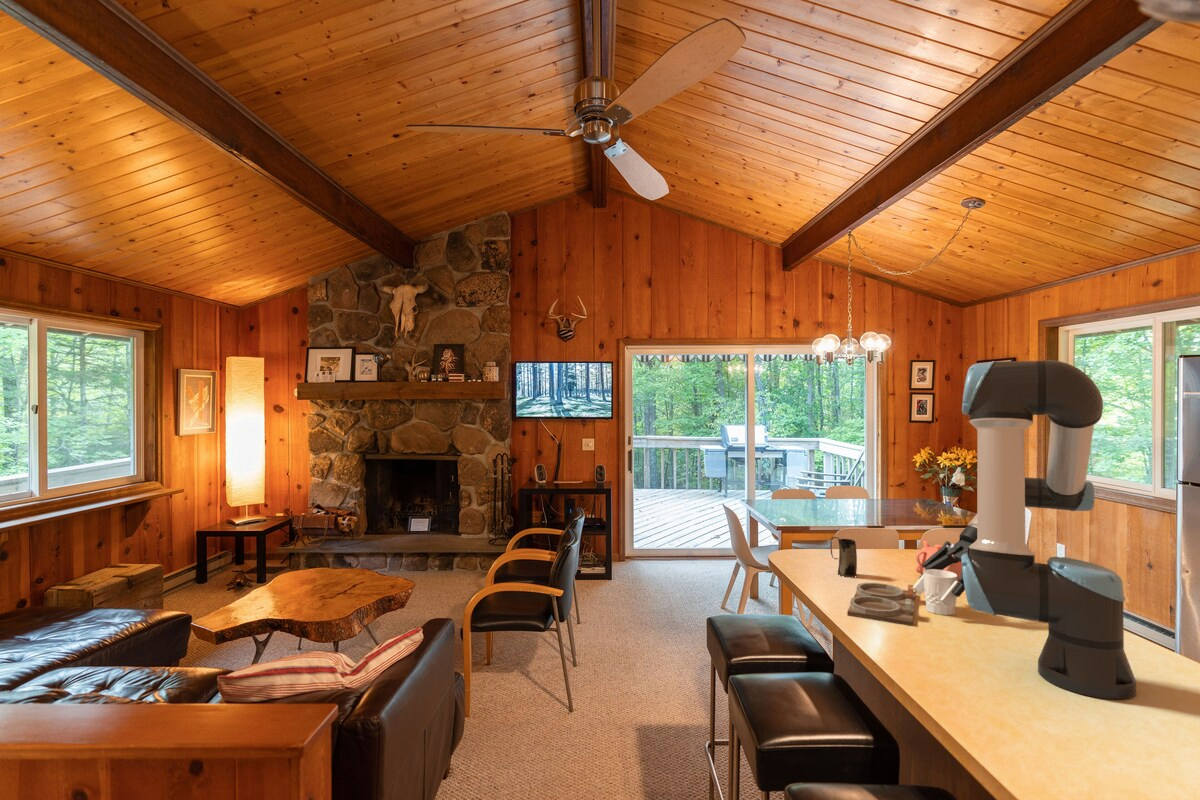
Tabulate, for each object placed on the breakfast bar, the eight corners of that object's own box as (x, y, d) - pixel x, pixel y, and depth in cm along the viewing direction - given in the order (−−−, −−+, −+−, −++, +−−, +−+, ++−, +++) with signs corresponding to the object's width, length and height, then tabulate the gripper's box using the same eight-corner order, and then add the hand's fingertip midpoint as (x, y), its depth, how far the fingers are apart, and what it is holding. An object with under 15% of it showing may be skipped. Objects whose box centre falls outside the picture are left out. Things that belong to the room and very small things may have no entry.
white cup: (964, 614, 157) (964, 575, 157) (943, 618, 154) (942, 579, 154) (937, 604, 164) (937, 568, 164) (916, 608, 161) (916, 571, 161)
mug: (853, 572, 195) (853, 535, 195) (859, 577, 189) (859, 539, 189) (828, 572, 196) (828, 535, 196) (833, 577, 190) (832, 539, 190)
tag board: (912, 625, 149) (912, 609, 149) (847, 615, 156) (847, 599, 156) (916, 595, 172) (916, 581, 172) (859, 587, 180) (859, 574, 180)
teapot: (922, 571, 197) (922, 537, 197) (972, 580, 186) (972, 545, 186) (906, 580, 187) (906, 544, 187) (957, 590, 176) (957, 553, 176)
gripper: (1025, 553, 151) (972, 621, 148) (957, 534, 173) (909, 593, 170) (1008, 533, 150) (953, 601, 147) (941, 517, 172) (892, 575, 169)
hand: (929, 597), depth 159 cm, fingers open, 9 cm apart
